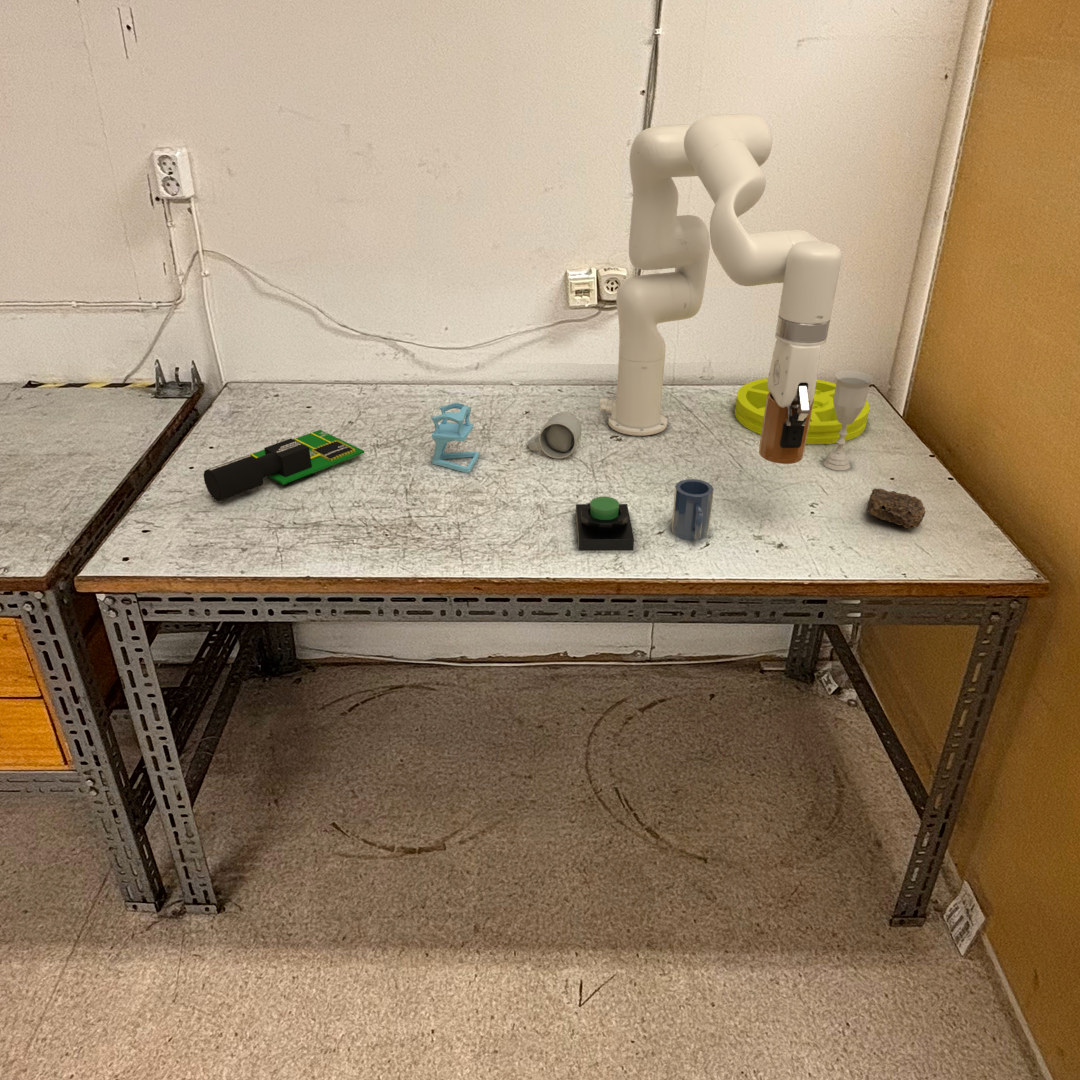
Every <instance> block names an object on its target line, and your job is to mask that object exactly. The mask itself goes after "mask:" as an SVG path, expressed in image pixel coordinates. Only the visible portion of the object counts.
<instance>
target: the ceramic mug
mask: <svg viewBox="0 0 1080 1080" xmlns="http://www.w3.org/2000/svg"><path fill="white" fill-rule="evenodd" d="M582 429H583V428H582V424H581V422H580V420H579V418H578V417H577V416H576V415H575V414H573V413H570V412H569V411H568V412H567V411H560V412H558V413H557V412H556V413H555V414H554V415H552V416H551V417H550V418H549V419H548V420H547V422H546V423H545V424H544V425H543V426H542V428H541V430H540V432H539V433H538V434H536V435H534V436H533V437H531V438H530V439H529V440H528V441H527V447H528V448H529V450H530V451H537V450H541V451H542V452H543V453H544V454H545V455H546V456H548V457H549V458H553V459H556V460H558V459H559V460H560V459H561V460H563V459H565V458H568V457H569V456H571V455H572V454H573V453H574V451H575V450H576V448H577V445H578V443H579V440H580V439H581V436H582Z"/></svg>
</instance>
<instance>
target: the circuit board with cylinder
mask: <svg viewBox="0 0 1080 1080" xmlns="http://www.w3.org/2000/svg"><path fill="white" fill-rule="evenodd" d="M363 454H365V450H363V449H361V448H360V447H358V446H355V445H353V444H351V443H350V442H347V441H345V440H342V439H340V438H338V437H337V436H335V435H332V434H330V433H328V432H326V431H324V430H321V429H318V430H316V431H315V430H314V431H313V432H309V433H307V434H304V435H301V436H297V437H296V438H289V439H288V438H287V439H285V440H282V441H279V442H277V443H274V444H271V445H268V446H265V447H264V448H263V449H262V450H259V451H256V452H253V453H249V454H247V455H244V456H241V457H238V458H235V459H233V460H230V461H227V462H225V463H222V464H219V465H216V466H213V467H211V468H207V469H205V470H204V471H203V482H204V484H205V487H206V489H207V491H208V493H209V495H210V496H211V497H212V499H213V500H214V501H216V502H218V503H219V502H223V501H226V500H228V499H230V498H233V497H236V496H238V495H241V494H243V493H246V492H249V491H252V490H254V489H256V488H257V489H258V488H259V487H262V486H264V483H265V478H267V477H268V478H269V479H272V480H273V481H275V482H277V483H278V484H281V485H282V486H290V485H292V484H295V483H297V482H299V481H302V480H305V479H308V478H310V477H313V476H314V474H315V473H317V472H319V471H322V470H325V469H327V468H330V467H333V466H335V465H337V464H339V463H342V462H345V461H348V460H350V459H353V458H356V457H357V456H360V455H363Z"/></svg>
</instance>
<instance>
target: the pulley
mask: <svg viewBox="0 0 1080 1080" xmlns="http://www.w3.org/2000/svg"><path fill="white" fill-rule="evenodd" d="M767 382H768V377H765V378H759V379H755V380H752V381H749V382H747V383H745V384H744V385H742V386H741V387H739V389H738V390H737V392H736V399H735V408H734V416H735V418H736V420H737V421H738V423H739V424H740V425H742V426H743V427H744V428H746V429H748V430H749V431H751V432H753V433H755V434H758V435H760V436H761V432H762V426H763V419H764V413H765V407H766V400H767V394H768V393H769V392H770V391H769V389H768V386H767ZM836 383H837V382H831V381H827V380H823V379H818V378H817V381H816V387H815V392H814V397H813V399H814V402H813V408H812V413H811V418H810V424H809V429H808V434H807V440H806V445H831V444H832V445H833V444H838V443H837V440H839V438H840V434H839V432H840V430H841V428H842V424H841V423H839V422H838V420H837V416H836V413H835V410H834V403H833V399H834V393H835V388H836ZM869 412H870V403H869V401H868V399H866V403H865V406H864V407H863V409H862V411H861V413H860V414H859V415H858V417H857V418H856V419H855V420H854V422H853V423H852V424H849V425H847V427H846V432H847V435H846V436H845V438H844V440H845V442H847V441H851V440H853V439H856V438H857V437H859V436H861V435H862V434H863V433H864V432H865V430H866V427H867V422H868V417H869V414H870V413H869Z"/></svg>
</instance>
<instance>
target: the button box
mask: <svg viewBox="0 0 1080 1080" xmlns="http://www.w3.org/2000/svg"><path fill="white" fill-rule="evenodd" d="M590 503H591V502H589V503H576V504H575V524H576V525H575V526H576V535H577V546H578V551H579V552H588V551H589V552H593V551H594V552H596V551H597V552H598V551H599V552H601V551H603V552H609V551H610V552H614V551H615V552H616V551H617V552H619V551H621V552H622V551H628V552H629V551H633V552H634V546H635V537H634V532H633V527H632V522H631V521H632V520H631V517H630V511H629V506H628V503H619V515H618V517H617V518H614V519H611V520H599V519H596V518H593V517H592V516H591V515H590Z"/></svg>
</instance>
